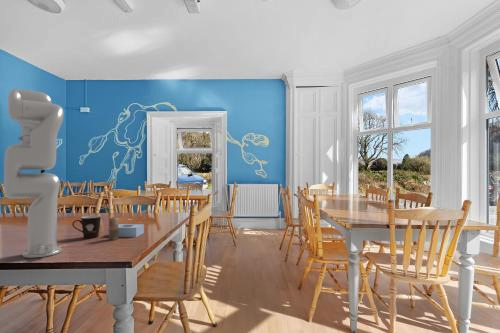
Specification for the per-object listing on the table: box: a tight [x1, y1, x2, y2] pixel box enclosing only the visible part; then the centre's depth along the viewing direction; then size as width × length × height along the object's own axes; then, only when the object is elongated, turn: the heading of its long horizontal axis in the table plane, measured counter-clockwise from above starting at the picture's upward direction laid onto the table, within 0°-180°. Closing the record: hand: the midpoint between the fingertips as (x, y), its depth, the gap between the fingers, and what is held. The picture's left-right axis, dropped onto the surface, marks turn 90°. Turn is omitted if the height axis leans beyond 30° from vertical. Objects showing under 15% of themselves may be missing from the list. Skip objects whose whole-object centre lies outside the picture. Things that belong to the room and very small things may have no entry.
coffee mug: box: [72, 215, 102, 240], centre depth 148 cm, size 12×9×10 cm
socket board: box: [119, 223, 145, 238], centre depth 153 cm, size 14×9×4 cm, turn 86°
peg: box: [108, 217, 120, 241], centre depth 143 cm, size 4×4×10 cm
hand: (30, 173), depth 153 cm, fingers open, 9 cm apart
